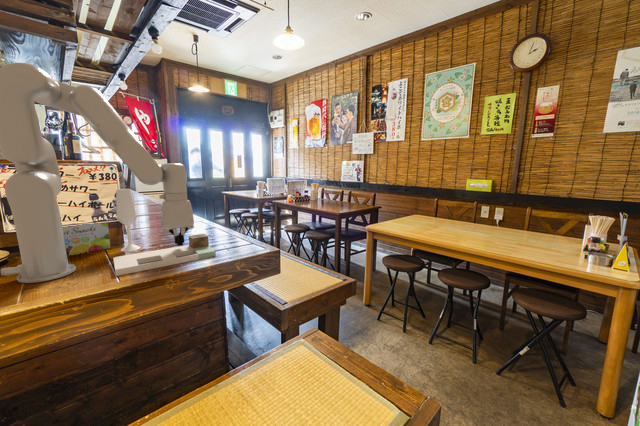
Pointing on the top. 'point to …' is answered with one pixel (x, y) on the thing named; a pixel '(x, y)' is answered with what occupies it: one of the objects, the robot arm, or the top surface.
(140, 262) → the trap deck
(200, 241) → the walnut block
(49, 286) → the top surface
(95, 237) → the snack box
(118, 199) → the champagne flute
